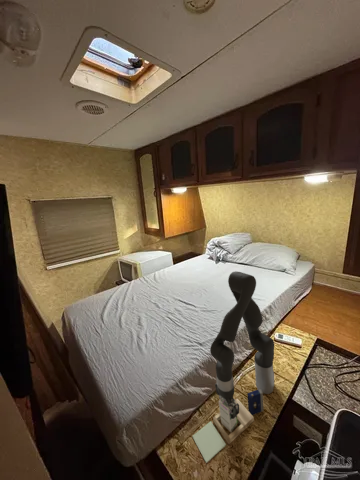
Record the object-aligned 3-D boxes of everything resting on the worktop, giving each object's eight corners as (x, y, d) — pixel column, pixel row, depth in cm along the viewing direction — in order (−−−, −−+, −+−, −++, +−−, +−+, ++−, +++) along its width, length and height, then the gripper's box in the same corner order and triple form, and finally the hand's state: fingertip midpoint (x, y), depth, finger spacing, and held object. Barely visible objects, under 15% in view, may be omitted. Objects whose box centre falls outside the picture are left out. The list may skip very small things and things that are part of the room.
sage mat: (210, 421, 97) (210, 421, 96) (226, 445, 87) (226, 444, 87) (192, 436, 92) (192, 436, 92) (206, 463, 82) (206, 462, 82)
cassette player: (250, 415, 97) (249, 397, 94) (248, 411, 99) (247, 392, 96) (264, 410, 98) (263, 392, 95) (261, 406, 100) (260, 387, 98)
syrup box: (231, 433, 90) (228, 409, 87) (220, 423, 95) (218, 400, 91) (238, 422, 94) (236, 400, 90) (227, 413, 98) (225, 391, 95)
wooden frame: (237, 401, 104) (237, 398, 103) (253, 420, 95) (253, 417, 94) (213, 421, 97) (212, 417, 96) (228, 444, 87) (228, 440, 87)
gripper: (243, 390, 84) (245, 419, 88) (220, 367, 96) (223, 393, 100) (230, 401, 80) (233, 430, 84) (208, 375, 93) (212, 402, 97)
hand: (228, 410), depth 92 cm, fingers closed on syrup box, 6 cm apart
